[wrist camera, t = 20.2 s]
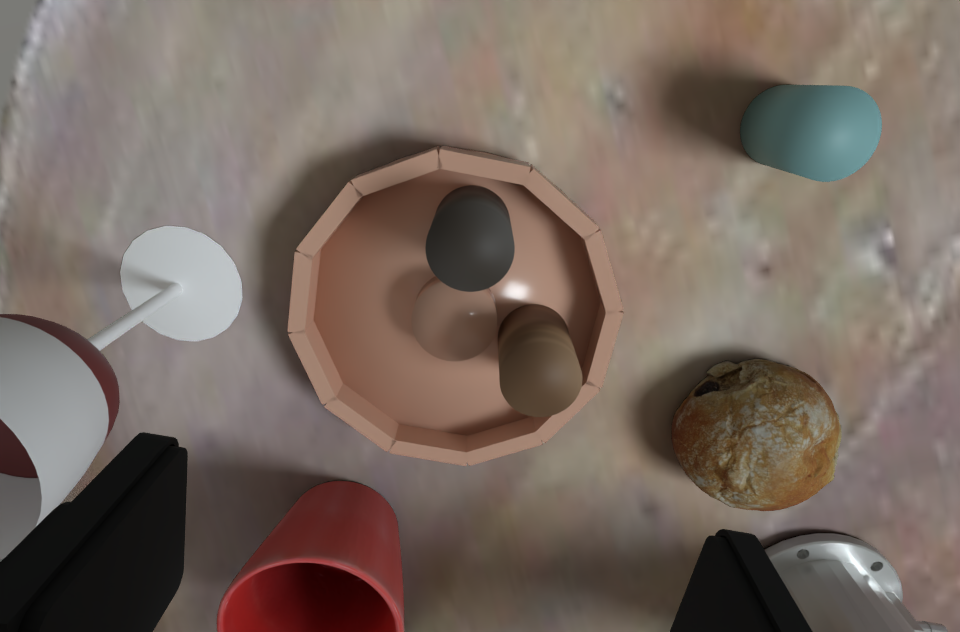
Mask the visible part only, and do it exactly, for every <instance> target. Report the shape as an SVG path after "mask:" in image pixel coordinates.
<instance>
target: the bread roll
mask: <svg viewBox="0 0 960 632" xmlns="http://www.w3.org/2000/svg"><path fill="white" fill-rule="evenodd" d="M706 373H707V374H708V376H707V377H706V378H705V379H704V380H702V381H701V382H700V383H699V384H698V385H697V386H696V387H695V388H694V389H693V390H692V391H691V393H690V394H689V396H688V397H687V398H686V399H685V400H684V401H683V403H682V404H681V406H680V407H679V408H678V409H677V411H676V413H675V415H674V417H673V422H672V444H673V449H674V452H675V454H676V456H677V458H678V461H679V463H680V464H681V466H682V468H683V470H684V471H685V473H686V474H687V476H688V477H689V478H690V479H691V480H692V481H693V482H694V483H695V484H696V486H698V487H699V488H700V489H701V490H702V491H703V492H705V493H707V494H708V495H709V496H710V497H713V498H715V499H717V500H719V501H721V502H723V503H725V504H726V505H728V506H730V507H734V508H741V509H746V510H759V511H774V510H781V509H784V508H788V507H790V506H794V505H797V504H799V503H801V502H803V501H805V500H807V499H809V498H810V497H811V496H813V495H815V494H817V492H818V491H819V490H820V489H822V488H823V487H824V486H825V485H826V484H828V483H829V482H831V481H832V480H833V479H834V477H835V476H834V475H833V474H834V472H835V466H836V464H837V458H838V448H839V445H840V442H841V425H840V423H839V416H838V414H837V413H836V411H835V409H834V406H833V403H832V401H831V399H830V398H829V396H828V395H827V393H826V392H825V391H824V389H823V388H822V387H821V385H820V384H819V383H818V382H817V381H816V380H815V379H813V378H812V377H811V376H810V375H808V374H806V373H805V372H802V371H800V370H798V369H795V368H792V367H790V366H788V365H782V364H778V363H775V362H772V361H769V360H763V359H752V360H747V361H743V362H740V363H738V364H734V363H732V362H730V361H724V362H721V363H719V364H716V365H714V366H713V367H712V368H711V369H710V370H709V371H708V372H706Z"/></svg>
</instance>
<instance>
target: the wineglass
mask: <svg viewBox="0 0 960 632" xmlns="http://www.w3.org/2000/svg"><path fill="white" fill-rule="evenodd" d="M120 276H121V283H122V291H123V293H124V295H125V297H126V299H127V301H128V303H129V305H130V308H131V309H132V311H130V312H129V313H127V314H126V315H124V316H123V317H121V318H120V319H118V320H116V321H115V322H113V323H112V324H110V325H109V326H107V327H106V328H104V329H103V330H101V331H100V332H98V333H97V334H95V335H93V336H92V337H90V338H89V339H85V338H84V337H82V336H81V335H80V334H78V333H76V332H75V331H73V330H71V329H69V328H67V327H65V326H62V325H60V324H57V323H55V322H52V321H48V320H44V319H40V318H37V317H33V316H26V315H17V314H0V560H1V559H3V558H5V557H6V556H7V555H8V554H9V553H10V552H11V551H12V550H13V549H14V548H15V547H16V546H17V545H18V544H19V543H20V542H21V541H22V540H23V539H24V538H25V537H26V536H27V535H28V534H29V533H30V532H31V531H32V530H33V529H34V528H35V527H36V526H37V525H38V524H39V523H40V522H41V521H42V520H43V519H44V518H45V517H46V516H47V515H48V514H49V513H50V512H51V511H52V510H54V509H55V508H56V507H57V506H59V505H60V503H61V502H62V501H63V500H64V499H65V497H66V496H67V495H68V494H69V493H70V492H71V490H72V489H73V488H74V487H75V485H76V484H77V483H78V482H79V480H80V479H81V477H82V476H83V475H84V473H85V472H86V470H87V469H88V467H89V466H90V464H91V463H92V461H93V459H94V458H95V456H96V455H97V453H98V451H99V450H100V448H101V446H102V445H103V443H104V442H105V440H106V438H107V437H108V435H109V433H110V431H111V429H112V427H113V424H114V422H115V419H116V416H117V414H118V409H119V386H118V382H117V378H116V375H115V373H114V371H113V369H112V367H111V365H110V364H109V362H108V361H107V359H106V358H105V357H104V355H103V354H102V353H101V352H100V350H101V349H103V348H104V347H106V346H107V345H109V344H110V343H111V342H113V341H114V340H116V339H117V338H119V337H120V336H121V335H123V334H124V333H126V332H127V331H128V330H130V329H131V328H133V327H134V326H136V325H137V324H138V323H140V322H141V321H142V322H143V323H145V324H146V325H148V326H149V327H151V328H152V329H154V330H155V331H157V332H158V333H159V334H162V335H165V336H168V337H170V338H173V339H176V340H183V341H200V340H204V339H209V338H213V337H215V336H216V335H218V334H220V333H221V332H223V331H224V330H226V329H227V328H228V327H229V326H230V325H231V323H232V322H233V321H234V319H235V318H236V317H237V315H238V313H239V309H240V306H241V302H242V299H243V298H242V283H241V278H240V276H239V273H238V271H237V268H236V266H235V263H234V262H233V260H232V259H231V258H230V257H229V255H228V254H227V253H226V252H225V250H224V249H223V248H222V247H221V246H220V245H219V244H217V243H216V242H215V241H213V240H212V239H211V238H209V237H208V236H206V235H205V234H203V233H200V232H197V231H195V230H192V229H189V228H187V227H177V226H163V227H159V228H155V229H151V230H148V231H146V232H145V233H143V234H142V235H140V236H139V237H138V238H136V239H135V240H133V242H132V243H131V245H130V246H129V248H128V249H127V251H126V252H125V254H124V256H123V260H122V265H121V270H120Z"/></svg>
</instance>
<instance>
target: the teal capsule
mask: <svg viewBox="0 0 960 632" xmlns="http://www.w3.org/2000/svg"><path fill="white" fill-rule="evenodd" d="M881 129H882V120H881V114H880V111H879V108H878V106H877V104H876V102H875V101H874V100H873V98H872V97H871V96H870V95H868V94H867V93H866V92H864V91H863V90H860V89H858V88H855V87H851V86H827V85H779V86H775V87H772V88H769V89H767V90H765V91H764V92H762V93H761V94H759V95H758V96H757V97H756V98H755V99H754V100H753V101H752V102H751V103H750V105H749V106H748V108H747V109H746V111H745V113H744V115H743V118H742V122H741V127H740V137H741V142H742V145H743V147H744V149H745V151H746V153H747V154H748V155H749V156H750V157H751V158H752V159H753V160H755V161H756V162H758V163H761V164H763V165H767V166H770V167H773V168H776V169H780V170H783V171H786V172H789V173H793V174H796V175H799V176H802V177H805V178H809V179H812V180H816V181H822V182H830V181H836V180H839V179H843V178H845V177H847V176H849V175H851V174H853V173H854V172H856V171H857V170H859V169H860V168H861V167H862V166H863V165H864V164H865V163H866V162H867V161H868V160H869V159H870V157H871V156H872V154H873V153H874V151H875V149H876V147H877V145H878V142H879V139H880V136H881Z"/></svg>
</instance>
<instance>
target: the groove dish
mask: <svg viewBox="0 0 960 632" xmlns="http://www.w3.org/2000/svg"><path fill="white" fill-rule="evenodd" d="M468 185H476V186H482V187H485V188H487V189H490V190H491V191H493V192H494V193H496V194H497V195H498V196H499V197H500V198H501V199H502V200H503V202H504V203H505V205H506V207H507V209H508V212H509V216H510V221H511V227H512V233H513V238H514V245H515V253H514V259H513V262H512V265H511V267H510V269H509V271H508V272H507V274H506V275H505V276H504V277H503V278H502V279H501V280H500V281H499V282H498V283H497V284H495V285H493V286H492V287H490V288H487V289H485V290H481V291H476V292H465V291H460V290H456V289H453V288H451V287H449V286H447V285H446V284H444V283H443V282H441V281H440V280H439V279H438V278H437V277H436V276H435V274H434V273H433V271H432V270H431V268H430V266H429V264H428V261H427V258H426V250H425V246H426V239H427V235H428V232H429V229H430V227H431V224H432V221H433V219H434V216H435V213H436V210H437V208H438V206H439V204H440V202H441V201H442V200H443V198H444V197H445V196H446V195H447V194H449V193H450V192H451V191H453V190H455V189H457V188H459V187H463V186H468ZM296 249H297V250H296V251H295V255H294V265H293V276H292V287H291V298H290V309H289V320H288V331H287V332H290V333H289V334H288V336H289V338H290V340H291V342H292V344H293V346H294V348H295V350H296V352H297V354H298V356H299V358H300V360H301V362H302V364H303V366H304V368H305V370H306V373H307V375H308V377H309V379H310V381H311V383H312V385H313V387H314V389H315V391H316V393H317V395H318V397H319V399H320V401H321V403H322V405H323V404H325V406H324V407H325V408H326V409H328V410H329V411H331V412H332V413H333V414H335V415H336V416H337V417H339V418H340V419H342V420H343V421H344V422H346V423H347V424H349V425H350V426H351V427H353V428H354V429H356V430H357V431H358V432H360V433H361V434H362V435H364V436H365V437H367V438H368V439H369V440H371V441H372V442H374V443H375V444H376V445H378V446H379V447H381V448H382V449H383V450H385V451H386V452H388V451H389V450H390V453H391V454H397V455H403V456H409V457H415V458H421V459H427V460H432V461H438V462H444V463H450V464H456V465H462V466H466V464H467V462H468V465H469V466H471V465H474V464H478V463H481V462H484V461H488V460H491V459H495V458H498V457H502V456H505V455H508V454H512V453H515V452H519V451H522V450H526V449H529V448H532V447H536V446H539V445H543V443H542V441H543V442H545V443H546V442H547V441H548V440H549V439H550V438H551V437H552V436H553V435H554V434H555V433H556V432H557V431H558V430H559V429H560V428H562V427H563V426H564V425H565V424H566V423H567V422H568V421H569V420H570V419H571V418H572V417H573V416H574V415H575V414H576V413H577V412H578V411H579V410H580V409H581V408H582V407H583V406H585V405H586V404H587V403H588V402H589V401H590V400H591V399H592V398H593V397H594V396H595V395H596V394H597V393H598V392H599V391H600V387H601V388H602V386H603V383H604V379H605V376H606V372H607V369H608V365H609V362H610V359H611V355H612V352H613V348H614V345H615V341H616V338H617V334H618V331H619V327H620V324H621V321H622V317H623V314H624V313H623V311H622V310H624V309H623V306H622V302H621V299H620V295H619V292H618V288H617V285H616V281H615V278H614V274H613V271H612V267H611V264H610V260H609V257H608V253H607V250H606V246H605V242H604V239H603V235H602V232H601V230H600V229H599V227H598V225H597V224H596V223H595V222H594V220H593V219H591V218H590V217H589V216H588V215H587V214H586V213H585V212H584V211H583V210H582V209H580V208H579V207H578V206H577V205H576V204H575V203H574V202H573V201H572V200H570V199H569V198H568V197H567V196H566V194H565V193H564V192H563V191H562V190H561V189H559V188H558V187H557V186H556V185H554V184H553V183H552V182H551V181H550V180H548V179H547V178H546V177H545V176H544V175H543V174H542V173H541V172H540V171H538V170H537V169H536V168H535V167H534V166H533V165H532V164H531V165H529V163H528V162H523V161H518V160H513V159H508V158H506V157H502V156H498V155H495V154H491V153H487V152H481V151H473V150H466V149H458V148H453V147H448V146H443V145H442V147H441V148H440V147H439V146H437V147H434V148H431V149H428V150H426V151H423V152H420V153H417V154H414V155H410V156H407V157H403V158H400V159H398V160H396V161H393V162H391V163H389V164H386V165H384V166H381V167H378V168H376V169H373V170H370V171H367V172H365V173H362V174H359V175H357V176H356V177H354V178H353V179H352V180H350V181H349V182H348V183H347V184H346V186H345V187H344V188H343V189H342V191H341V192H340V193H339V195H338V196H337V197H336V198H335V200H334V201H333V202H332V204H331V205H330V206H329V207H328V209H327V210H326V211H325V212H324V214H323V215H322V216H321V218H320V219H319V220H318V221H317V223H316V224H315V225H314V227H313V228H312V229H311V230H310V232H309V233H308V234H307V235H306V237H305V238H304V239H303V241H302V242H301V243H300V244H299V246H298V247H297V248H296ZM530 304H539V305H544V306H547V307H549V308H551V309H553V310H555V311H556V312H557V313H558V314H559V315H560V316H561V317H562V318H563V319H564V321H565V323H566V325H567V328H568V331H569V334H570V337H571V340H572V343H573V346H574V350H575V353H576V356H577V359H578V362H579V365H580V368H581V371H582V386H581V390H580V392H579V395H578V396H577V398H576V400H575V401H574V402H573V403H572V404H571V405H570V406H569V407H568V408H567V409H565V410H564V411H562V412H560V413H558V414H555V415H552V416H547V417H532V416H528V415H524V414H522V413H520V412H518V411H516V410H515V409H514V408H512V407H511V406H510V405H509V404H508V403H507V401H506V400H505V398H504V397H503V395H502V392H501V389H500V380H499V358H498V331H499V328H500V325H501V323H502V321H503V320H504V318H505V317H506V316H507V315H508V314H509V313H510V312H512V311H513V310H515V309H517V308H519V307H521V306H524V305H530Z"/></svg>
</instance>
